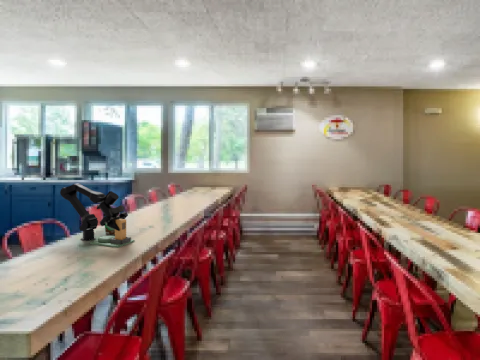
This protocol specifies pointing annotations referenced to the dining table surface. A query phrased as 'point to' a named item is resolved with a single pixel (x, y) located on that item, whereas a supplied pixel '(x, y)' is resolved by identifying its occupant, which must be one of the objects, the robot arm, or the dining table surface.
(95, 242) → the green domed base plate
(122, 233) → the chute block
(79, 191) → the robot arm
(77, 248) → the dining table surface
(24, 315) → the dining table surface
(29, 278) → the dining table surface
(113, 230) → the food container
